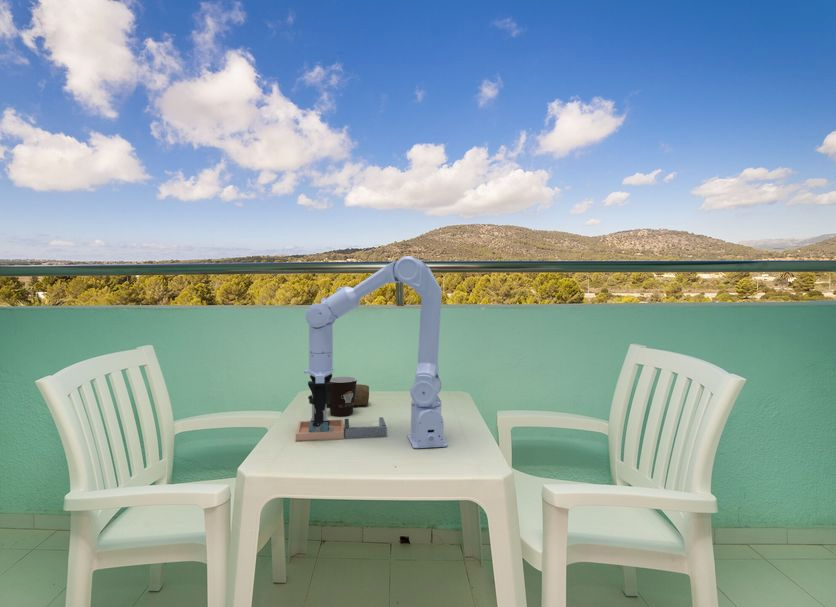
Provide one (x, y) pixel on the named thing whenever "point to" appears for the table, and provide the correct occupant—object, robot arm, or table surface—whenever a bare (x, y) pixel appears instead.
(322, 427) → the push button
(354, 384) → the coffee mug
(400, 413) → the table surface
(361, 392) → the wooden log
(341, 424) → the tray
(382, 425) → the bracket
